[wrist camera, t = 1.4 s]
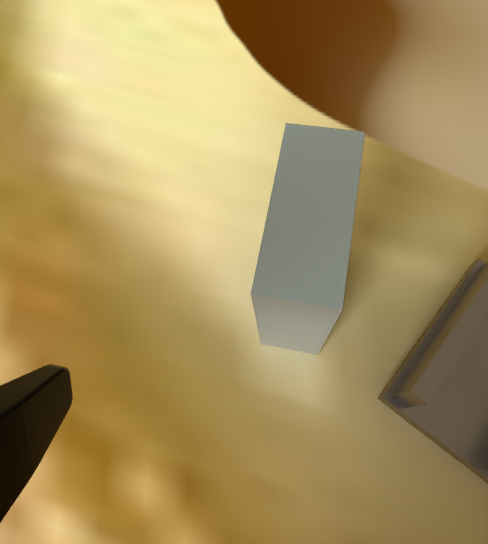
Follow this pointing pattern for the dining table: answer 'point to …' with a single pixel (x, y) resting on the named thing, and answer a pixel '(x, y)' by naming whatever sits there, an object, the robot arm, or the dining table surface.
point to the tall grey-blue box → (307, 237)
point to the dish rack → (451, 375)
